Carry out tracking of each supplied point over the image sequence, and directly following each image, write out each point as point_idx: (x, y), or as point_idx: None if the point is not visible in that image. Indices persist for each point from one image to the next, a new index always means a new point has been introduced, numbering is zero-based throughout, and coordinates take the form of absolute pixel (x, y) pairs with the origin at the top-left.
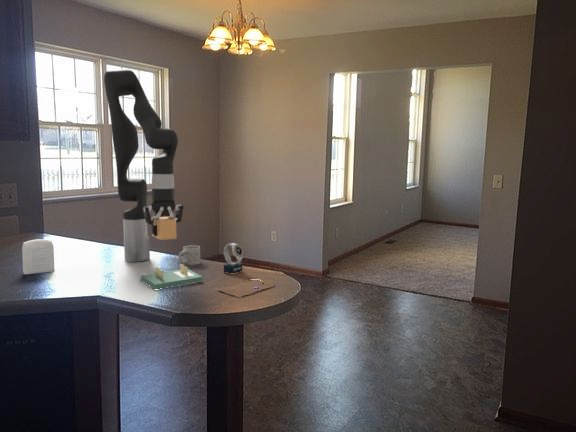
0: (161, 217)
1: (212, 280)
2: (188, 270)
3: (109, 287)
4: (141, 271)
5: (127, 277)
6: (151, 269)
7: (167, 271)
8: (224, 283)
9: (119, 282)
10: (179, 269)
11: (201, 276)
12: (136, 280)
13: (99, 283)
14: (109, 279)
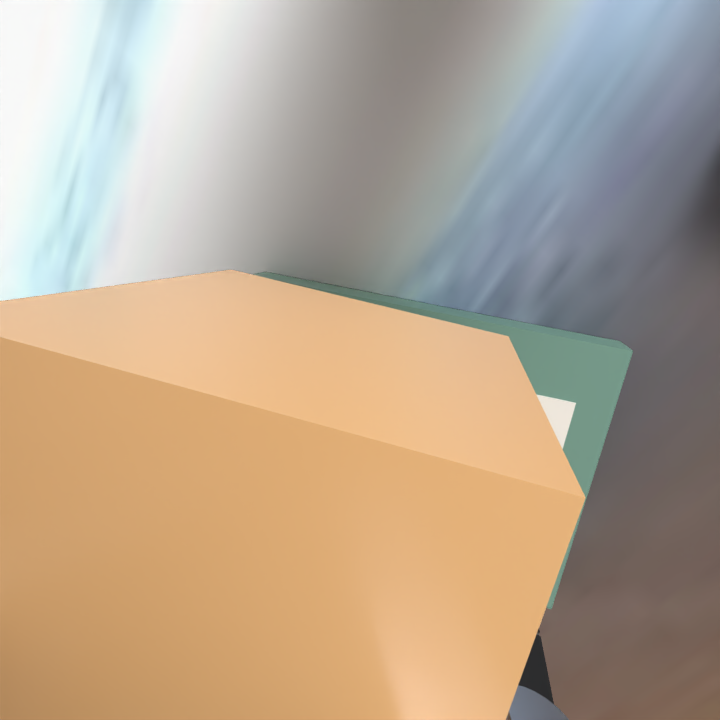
0: (254, 523)
1: (625, 601)
2: (595, 414)
3: (61, 262)
4: (387, 14)
5: (226, 117)
6: (487, 6)
7: (450, 320)
8: (631, 696)
9: (140, 201)
10: (561, 337)
11: (550, 601)
12: (243, 237)
13: (36, 132)
14: (112, 79)
